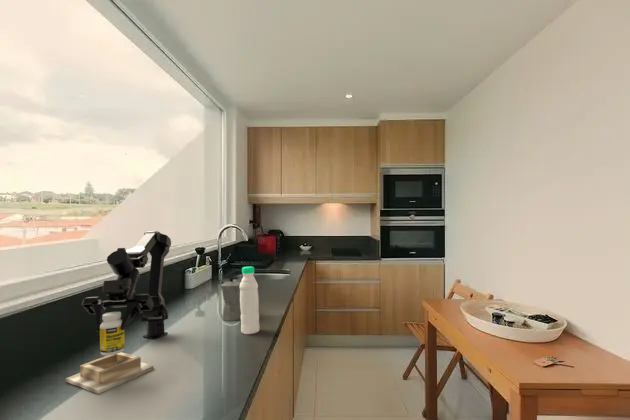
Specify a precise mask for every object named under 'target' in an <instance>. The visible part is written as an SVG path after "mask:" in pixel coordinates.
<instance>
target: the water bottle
mask: <svg viewBox="0 0 630 420" xmlns="http://www.w3.org/2000/svg"><path fill="white" fill-rule="evenodd" d="M241 273H242V275H243V276H242V278H241V281H240V282H241V283H240V286H239V288H240V309H241V319H240V332H241V333H242V334H244V335H253V334H257V333H258V332H259V331H260V329H261V328H260V313H259V312H260V311H259V306H260V305H259V303H260V302H259V290H258V289H259V284H258V282H257V280H256V278H255V276H254V274H255V267H254V266H251V265H250V266H243V267H241Z"/></svg>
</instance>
